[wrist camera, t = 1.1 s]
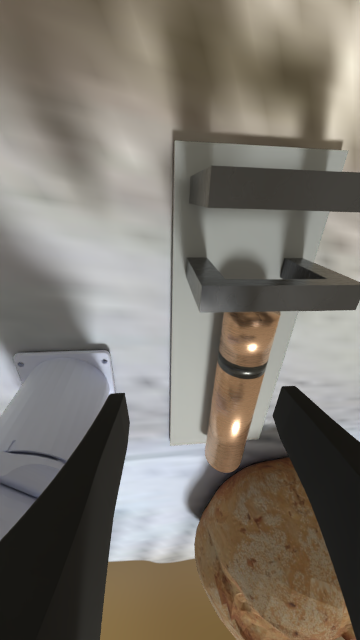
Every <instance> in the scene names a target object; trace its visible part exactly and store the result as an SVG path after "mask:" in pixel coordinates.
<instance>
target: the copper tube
mask: <svg viewBox="0 0 360 640" xmlns="http://www.w3.org/2000/svg"><path fill="white" fill-rule="evenodd" d="M280 315H281V312H280V311H271V312H224V315H223V322H222V330H221V337H220V344H219V352H218V359H217V366H216V374H215V381H214V388H213V396H212V403H211V410H210V418H209V425H208V432H207V440H206V447H205V456H206V459H207V461H208V463H209V464H210V465H211V466H212V467H213V468H214V469H216V470H218V471H220V472H224V473H229V472H233V471H235V470H236V469H237V468H238V467H239V465H240V463H241V459H242V455H243V452H244V448H245V444H246V441H247V437H248V433H249V429H250V426H251V422H252V418H253V415H254V411H255V407H256V404H257V400H258V396H259V393H260V389H261V385H262V381H263V378H264V374H265V370H266V367H267V363H268V359H269V356H270V352H271V348H272V345H273V341H274V337H275V333H276V330H277V326H278V322H279V319H280Z"/></svg>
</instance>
